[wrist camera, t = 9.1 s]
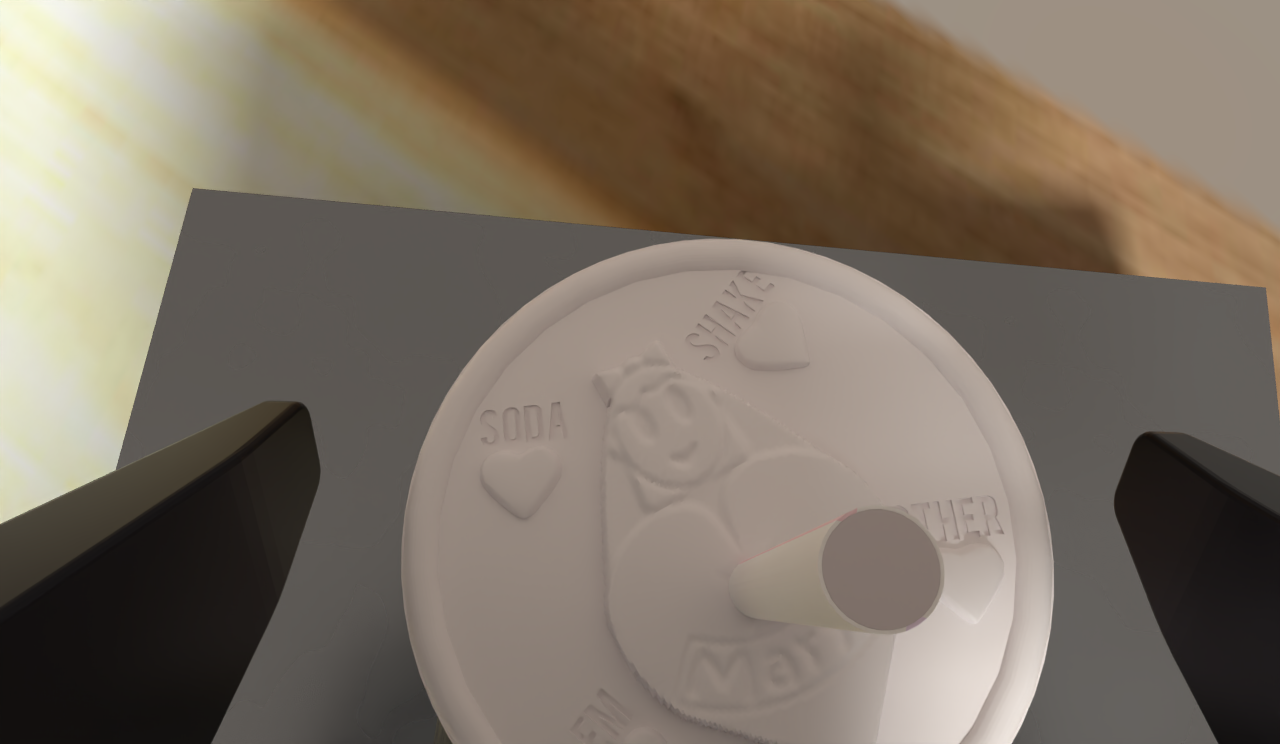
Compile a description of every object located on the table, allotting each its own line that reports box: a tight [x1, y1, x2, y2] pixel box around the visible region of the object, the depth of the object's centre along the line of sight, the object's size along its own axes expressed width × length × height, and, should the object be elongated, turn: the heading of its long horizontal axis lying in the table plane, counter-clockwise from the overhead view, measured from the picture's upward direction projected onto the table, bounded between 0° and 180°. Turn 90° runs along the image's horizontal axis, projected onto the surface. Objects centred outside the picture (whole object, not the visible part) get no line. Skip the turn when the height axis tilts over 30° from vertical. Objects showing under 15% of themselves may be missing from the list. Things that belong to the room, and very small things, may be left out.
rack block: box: [116, 188, 1280, 744], centre depth 16 cm, size 12×20×4 cm, turn 84°
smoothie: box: [401, 239, 1054, 744], centre depth 11 cm, size 6×6×14 cm
